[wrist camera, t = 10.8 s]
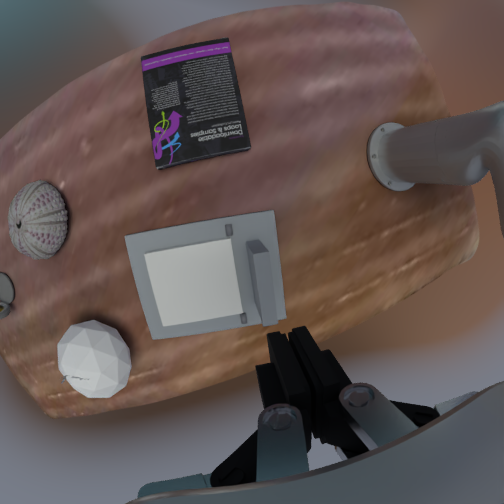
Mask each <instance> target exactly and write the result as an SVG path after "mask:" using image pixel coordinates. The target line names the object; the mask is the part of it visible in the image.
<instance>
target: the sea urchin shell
mask: <svg viewBox="0 0 504 504" xmlns="http://www.w3.org/2000/svg"><path fill="white" fill-rule="evenodd" d="M67 212H68V211H66V210H65V203H64V200H63V199H62V198H61V195H60V193H59V192H58V191H57V190H56V188H54V186H52V185H49V183H47V182H46V181H41V180H39V181H36V182H32V183H30V184H27V185H26V186H25V187H23V188H22V189H21V190H20V191H19V192H18V194H16V196H15V197H14V199H13V201H12V202H11V204H10V208H9V215H8V221H9V231H10V234H9V235H10V237H11V240H12V243H13V244H14V246H15V247H16V248H17V249H18V250H19V252H21V253H22V254H25V255H27V256H29V257H32V258H33V259H35V260H36V259H38V260H39V259H49V258H50V257H51V256H54V254H56V251H57V250H59V248H60V247H61V245H62V244H63V242H64V239H65V237H66V233H67V219H68V217H67Z"/></svg>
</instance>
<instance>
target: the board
mask: <svg viewBox="0 0 504 504" xmlns="http://www.w3.org/2000/svg"><path fill="white" fill-rule="evenodd" d="M224 238H231V244H232V250H233V256H234V263H235V269H236V275H237V281H238V287H239V293H240V298H241V304H242V310H243V313H241V314H236V315H230V316H225V317H219V318H214V319H208V320H202V321H196V322H190V323H184V324H178V325H171V326H164V327H163V324H162V321H161V318H160V314H159V311H158V307H157V304H156V300H155V296H154V293H153V289H152V285H151V281H150V277H149V273H148V269H147V265H146V260H145V256H144V254H145V253H147V252H152V251H157V250H163V249H168V248H174V247H179V246H185V245H190V244H196V243H201V242H207V241H213V240H218V239H224ZM125 241H126V245H127V250H128V254H129V259H130V263H131V267H132V271H133V275H134V279H135V282H136V286H137V290H138V293H139V297H140V300H141V304H142V307H143V311H144V314H145V317H146V320H147V323H148V327H149V330H150V333H151V336H152V339H153V340H155V339H163V338H172V337H180V336H187V335H194V334H201V333H208V332H215V331H221V330H227V329H233V328H239V327H245V326H250V325H256V324H261V323H262V324H263V327H264V326H269V325H274V324H278V320H281V319H286V310H285V301H284V292H283V282H282V274H281V265H280V256H279V248H278V240H277V232H276V224H275V216H274V210H267V211H260V212H253V213H247V214H240V215H234V216H228V217H222V218H216V219H210V220H204V221H198V222H192V223H187V224H181V225H176V226H170V227H165V228H160V229H154V230H149V231H144V232H139V233H134V234H129V235H126V236H125Z"/></svg>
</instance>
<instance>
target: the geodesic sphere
mask: <svg viewBox="0 0 504 504" xmlns="http://www.w3.org/2000/svg"><path fill="white" fill-rule="evenodd" d="M57 346H58V365H59V370H60V371H61V373H62V374H63V375H64V376H63V377H65V378H63V381H62V383H63V382H64V380H65V379H67V381H68V382H69V383H70V385H71V386H72V387H73V388H74V389H75V390H77V391H78V392H80V393H82V394H83V395H85V396H86V397H88V398H110V397H111V396H113V395H114V394H115V393H117V392H118V391H119V390H121V389H122V388H124V387H125V386H126V385H127V381H128V377H129V374H130V370H131V367H132V366H131V358H130V349H129V347H128V346H127V345H126V343H125V342H124V340H123V339H122V337H121V336H120V334H119V333H118V331H117V329H115V328H113V327H110V326H108V325H105V324H103V323H101V322H98V321H96V320H91V321H87V322H83V323H79V324H75V325H71V326H70V327H69V329H68V330H67V331H66V333H65V334H64V335H63V337H62V338H61V340H60V341H59V343H58V345H57ZM62 383H61V384H62Z"/></svg>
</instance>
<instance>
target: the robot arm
mask: <svg viewBox="0 0 504 504" xmlns="http://www.w3.org/2000/svg"><path fill="white" fill-rule="evenodd" d="M367 155H368V161H369V166H370V168H371V170H372V173H373V174H374V176H375V178H376V179H377V180H378V181H379V182H380V183H381V184H382V185H383V186H384V187H386V188H388V189H390V190H393V191H405V190H408V189H410V188H411V187H413V186H414V185H415V183H428V184H447V185H462V186H468V185H473V184H475V183H477V182H479V181H480V180H481V179H482V178H483V177H484V176H485V175H486V174H487V172H488V171H489V170H490V173H491V176H492V180H493V184H494V188H495V193H496V199H497V205H498V212H499V219H500V226H501V231H502V235H503V237H504V101H501V102H498V103H496V104H493V105H491V106H488V107H486V108H483V109H480V110H477V111H474V112H470V113H466V114H462V115H458V116H453V117H448V118H443V119H438V120H434V121H429V122H425V123H420V124H416V125H412V126H408V127H404V126H403V125H400V124H398V123H393V122H391V123H385V124H382V125H380V126H378V127H377V128H376V129H375V130H374V131H373V132H372V134H371V136H370V138H369V141H368V146H367ZM288 338H289V341H288V339H287V337H286V334H285V333H284V334H281V333H280V331H278V332H273V333H268V334H267V340H268V347H269V354H270V361H271V363H267V364H262V365H256V371H257V378H258V383H259V388H260V393H261V398H262V402H263V406H264V410H263V411H262V412H261V413H260V415H259V417H258V429H257V430H256V431H255V432H254V433H253V434H252V435H251V436H250V437H249V438H248V439H247V440H246V441H245V442H244V443H243V444H242V445H241V446H240V447H239V448H238V449H237V450H236V451H234V452H233V453H232V454H231V455H230V456H229V457H228V458H227V459H226V460H225V461H223V463H221V464H220V465H219V466H218V467H217V468H216V469H215V470H214V471H213V472H212V473H210V474H207V475H202V473H200V474H196V475H191V476H187V477H182V478H176V479H171V480H165V481H159V482H152V483H149V484H146V485H144V486H143V487H141V488H140V490H139V492H138V498H137V499H135V500H132V501H130V502H128V503H126V504H504V381H503V382H499V383H496V384H494V385H492V386H489V387H488V388H485V389H483V390H482V391H480V392H470V393H467V394H465V395H462V396H459V397H457V398H455V399H451V400H449V401H446V402H443V403H440V404H437V405H435V407H434V408H431V407H427V406H421V405H415V404H408V403H402V402H396V401H391V400H388V399H387V398H386V397H385V396H384V395H383V394H381V392H379V390H377V389H376V388H375V387H374V386H372V385H370V384H367V383H354V384H352V382H351V381H350V379H349V378H348V376H347V375H346V373H345V372H344V370H343V369H342V367H341V366H340V364H339V363H338V361H337V360H336V358H335V357H334V355H333V354H332V352H331V351H330V350H324V351H320V349H319V347H318V346H317V344H316V342H315V341H314V339H313V338H312V336H311V334H310V333H309V331H308V329H307V328H306V326H301V327H297V328H293V329H292V332H289V333H288ZM311 433H313V436H314V438H315V439H316V438H320V441H321V443H322V444H324V443H328V444H331V445H334V446H335V450H336V452H337V453H338V455H339V456H340V458H341V459H342V460H343V461H341V462H338V463H335V464H332V465H329V466H325V467H322V468H319V469H315V470H311V471H309V464H308V458H307V453H308V452H309V450H310V449H311V439H312V437H311V435H312V434H311Z"/></svg>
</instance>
